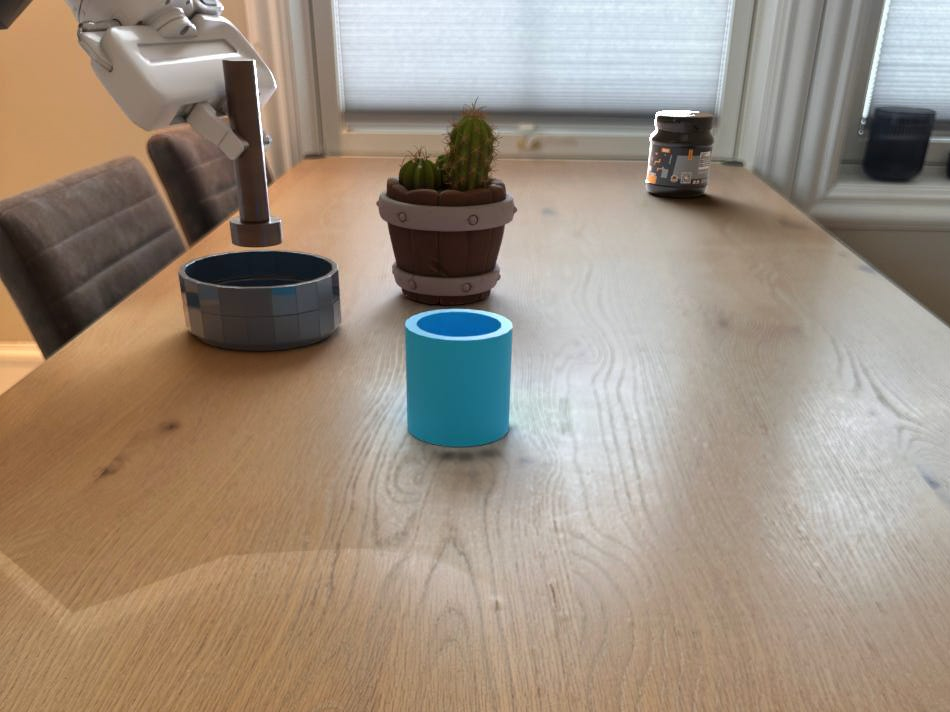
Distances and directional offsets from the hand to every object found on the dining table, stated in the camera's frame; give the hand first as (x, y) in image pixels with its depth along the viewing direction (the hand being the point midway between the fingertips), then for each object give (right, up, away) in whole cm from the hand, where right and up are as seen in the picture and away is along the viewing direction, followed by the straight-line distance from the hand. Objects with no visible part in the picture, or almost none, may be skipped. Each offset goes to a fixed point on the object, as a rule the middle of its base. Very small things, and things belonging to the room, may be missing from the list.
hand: (253, 151), depth 89 cm
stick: (-1, -6, +4) cm, 8 cm away
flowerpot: (+17, -5, +22) cm, 28 cm away
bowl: (-1, -13, +10) cm, 16 cm away
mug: (+19, -26, -9) cm, 33 cm away
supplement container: (+54, +32, +79) cm, 101 cm away
